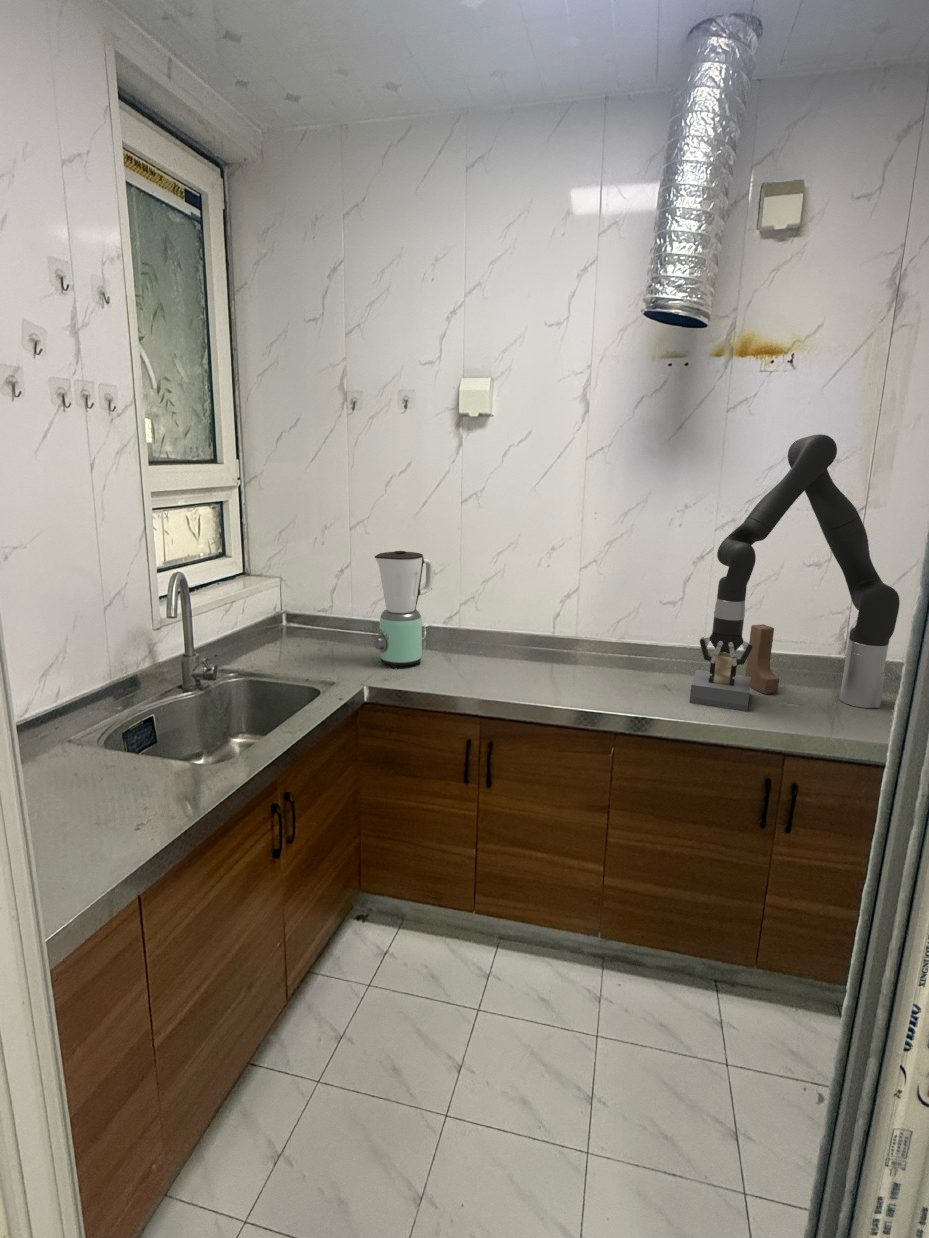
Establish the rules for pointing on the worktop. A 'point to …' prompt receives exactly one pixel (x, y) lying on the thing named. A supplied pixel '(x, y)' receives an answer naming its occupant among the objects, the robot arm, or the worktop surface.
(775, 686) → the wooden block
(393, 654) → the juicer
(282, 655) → the worktop surface
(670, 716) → the worktop surface
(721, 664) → the beech peg
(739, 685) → the socket stand
